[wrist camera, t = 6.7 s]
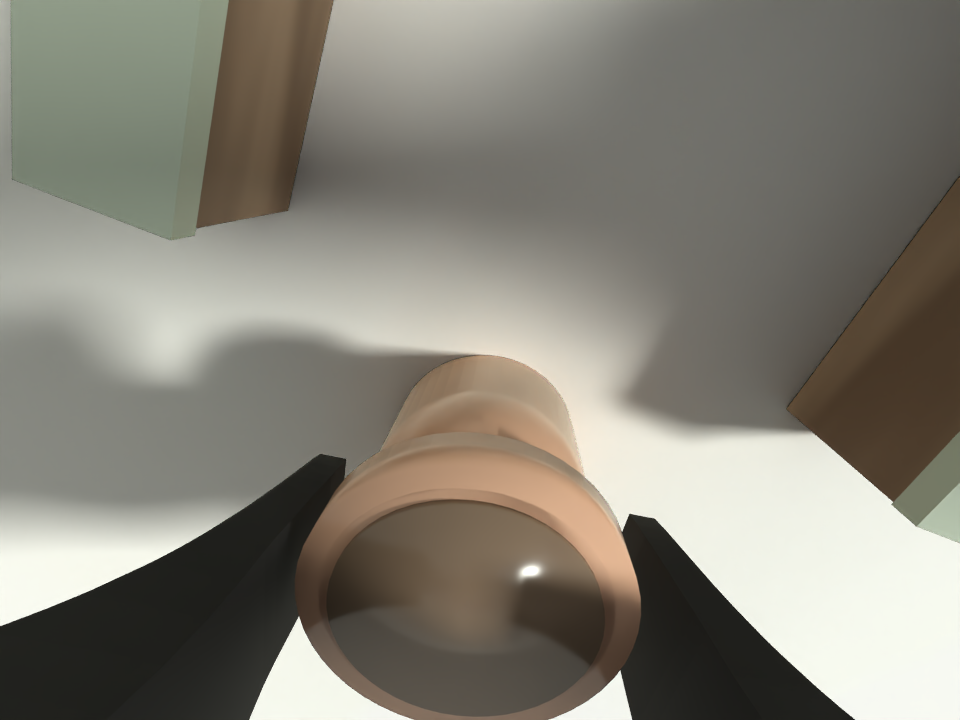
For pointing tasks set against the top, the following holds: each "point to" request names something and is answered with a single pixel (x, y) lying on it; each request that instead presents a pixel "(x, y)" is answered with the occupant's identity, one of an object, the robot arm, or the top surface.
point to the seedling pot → (472, 558)
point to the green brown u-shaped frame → (273, 164)
